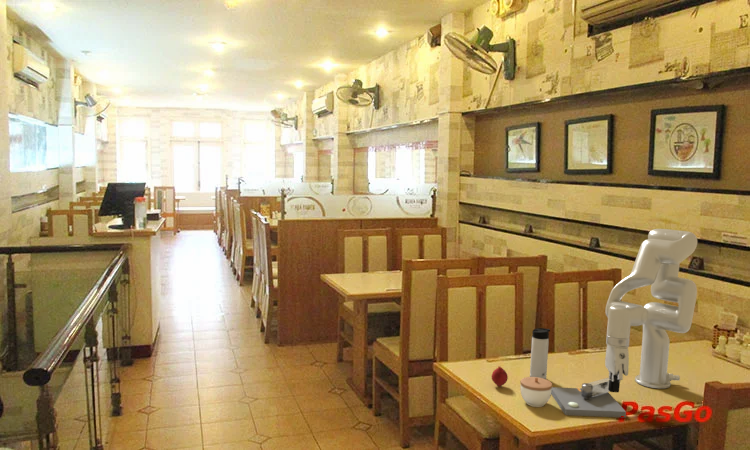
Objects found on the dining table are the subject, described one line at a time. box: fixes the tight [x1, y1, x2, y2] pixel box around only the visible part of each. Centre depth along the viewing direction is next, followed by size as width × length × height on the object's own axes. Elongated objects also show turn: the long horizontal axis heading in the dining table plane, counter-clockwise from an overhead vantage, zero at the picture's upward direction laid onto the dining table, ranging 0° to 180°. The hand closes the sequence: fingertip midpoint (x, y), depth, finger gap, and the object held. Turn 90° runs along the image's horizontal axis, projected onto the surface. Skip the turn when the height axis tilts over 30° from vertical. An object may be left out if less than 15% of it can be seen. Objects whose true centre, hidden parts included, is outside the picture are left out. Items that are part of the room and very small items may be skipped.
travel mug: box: [529, 327, 551, 380], centre depth 237 cm, size 6×7×20 cm
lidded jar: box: [519, 376, 553, 408], centre depth 213 cm, size 11×11×9 cm
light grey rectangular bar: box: [581, 377, 611, 399], centre depth 217 cm, size 15×4×5 cm, turn 123°
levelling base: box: [551, 386, 627, 418], centre depth 214 cm, size 20×20×3 cm
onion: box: [491, 365, 509, 387], centre depth 228 cm, size 6×6×8 cm
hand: (613, 391), depth 216 cm, fingers closed
